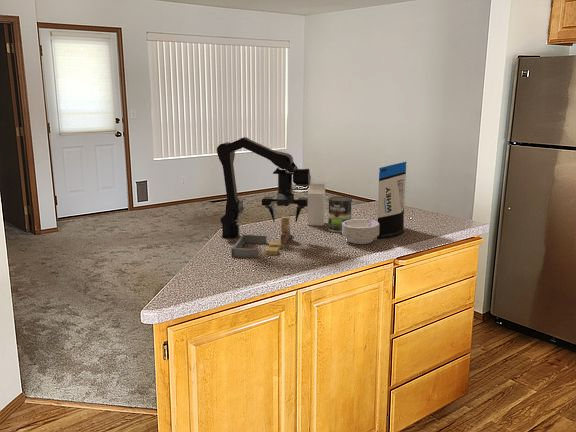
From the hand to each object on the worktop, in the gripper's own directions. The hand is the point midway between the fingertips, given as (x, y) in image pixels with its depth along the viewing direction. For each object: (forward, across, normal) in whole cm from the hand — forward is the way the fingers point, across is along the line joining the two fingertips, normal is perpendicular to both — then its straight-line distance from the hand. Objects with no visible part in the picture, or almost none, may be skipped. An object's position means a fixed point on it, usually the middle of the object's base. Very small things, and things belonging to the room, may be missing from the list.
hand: (285, 221), depth 220 cm
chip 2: (+8, -2, -20) cm, 22 cm away
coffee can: (+8, +22, +18) cm, 30 cm away
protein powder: (+8, +44, +14) cm, 47 cm away
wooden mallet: (+8, 0, 0) cm, 8 cm away
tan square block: (+8, -2, -12) cm, 15 cm away
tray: (+7, -12, -16) cm, 21 cm away
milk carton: (+8, +11, +27) cm, 30 cm away
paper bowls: (+8, +31, 0) cm, 32 cm away
